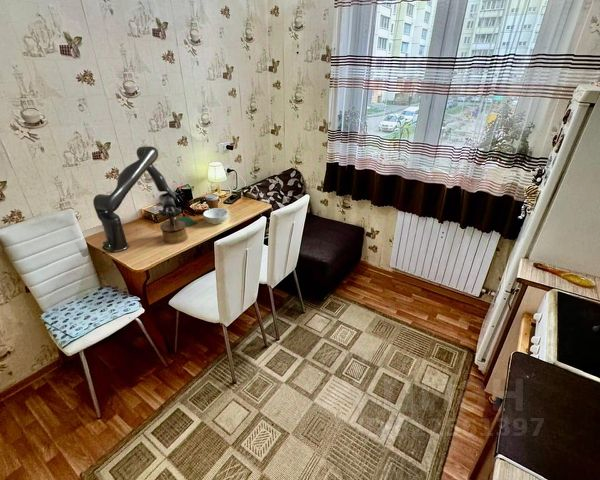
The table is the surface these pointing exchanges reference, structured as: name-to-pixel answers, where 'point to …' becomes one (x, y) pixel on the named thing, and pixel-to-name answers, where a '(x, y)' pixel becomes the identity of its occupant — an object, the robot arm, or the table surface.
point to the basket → (175, 236)
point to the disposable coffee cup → (212, 200)
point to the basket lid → (172, 224)
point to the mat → (186, 221)
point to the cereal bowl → (215, 215)
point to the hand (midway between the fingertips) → (171, 216)
